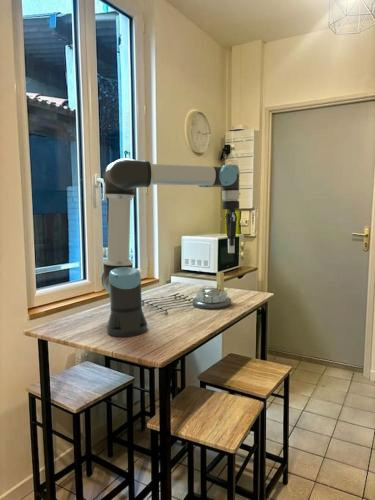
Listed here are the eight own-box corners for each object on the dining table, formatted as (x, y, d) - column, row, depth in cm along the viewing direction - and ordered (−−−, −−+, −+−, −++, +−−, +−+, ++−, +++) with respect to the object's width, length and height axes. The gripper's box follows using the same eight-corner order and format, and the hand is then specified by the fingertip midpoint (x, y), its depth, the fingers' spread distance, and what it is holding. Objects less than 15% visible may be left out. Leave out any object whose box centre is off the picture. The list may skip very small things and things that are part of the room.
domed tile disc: (233, 298, 179) (233, 274, 178) (212, 304, 170) (211, 278, 168) (211, 293, 190) (211, 270, 188) (190, 299, 180) (189, 274, 179)
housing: (201, 311, 168) (201, 295, 168) (187, 301, 185) (186, 287, 184) (238, 306, 175) (238, 291, 174) (220, 297, 191) (220, 283, 191)
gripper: (242, 200, 166) (242, 254, 169) (235, 200, 179) (236, 250, 182) (225, 200, 165) (226, 255, 168) (219, 200, 178) (220, 251, 181)
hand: (231, 252), depth 175 cm, fingers closed
